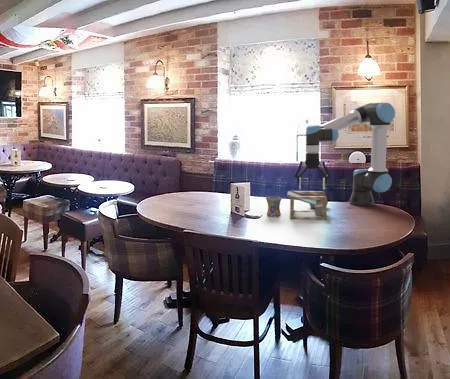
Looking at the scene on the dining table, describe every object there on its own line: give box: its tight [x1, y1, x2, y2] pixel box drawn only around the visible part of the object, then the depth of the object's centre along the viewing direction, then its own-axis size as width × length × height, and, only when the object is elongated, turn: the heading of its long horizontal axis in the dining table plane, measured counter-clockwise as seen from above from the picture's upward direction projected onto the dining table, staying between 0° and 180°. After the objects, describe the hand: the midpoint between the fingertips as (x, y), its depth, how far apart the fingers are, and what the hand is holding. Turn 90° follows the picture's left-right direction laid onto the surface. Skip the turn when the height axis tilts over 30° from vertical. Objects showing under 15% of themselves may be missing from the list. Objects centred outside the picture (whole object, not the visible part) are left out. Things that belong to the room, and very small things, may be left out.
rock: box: [306, 194, 329, 209], centre depth 257 cm, size 14×10×8 cm
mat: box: [294, 212, 322, 217], centre depth 236 cm, size 15×13×1 cm
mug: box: [265, 195, 282, 217], centre depth 239 cm, size 12×9×11 cm
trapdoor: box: [286, 190, 317, 206], centre depth 235 cm, size 17×14×2 cm
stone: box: [314, 204, 323, 216], centre depth 234 cm, size 5×5×6 cm
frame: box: [289, 190, 328, 221], centre depth 235 cm, size 20×18×13 cm
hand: (311, 189), depth 233 cm, fingers open, 13 cm apart
